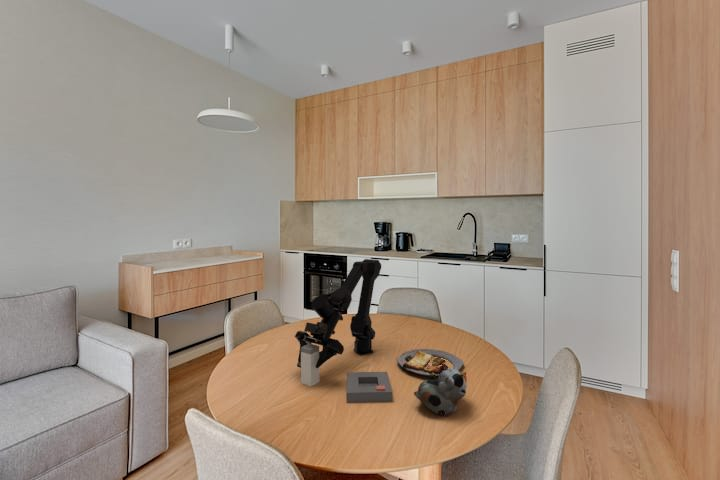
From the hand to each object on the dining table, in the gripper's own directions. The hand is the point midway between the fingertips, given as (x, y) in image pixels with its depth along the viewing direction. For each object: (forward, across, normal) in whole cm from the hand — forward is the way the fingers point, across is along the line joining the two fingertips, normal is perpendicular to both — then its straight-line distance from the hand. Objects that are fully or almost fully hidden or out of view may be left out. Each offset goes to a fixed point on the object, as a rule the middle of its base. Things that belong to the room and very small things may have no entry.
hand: (307, 364), depth 115 cm
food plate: (-21, +29, +31) cm, 47 cm away
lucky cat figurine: (-4, +42, +14) cm, 45 cm away
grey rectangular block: (+4, 0, +6) cm, 7 cm away
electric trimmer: (-6, -11, +16) cm, 20 cm away
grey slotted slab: (-1, +20, +10) cm, 22 cm away
